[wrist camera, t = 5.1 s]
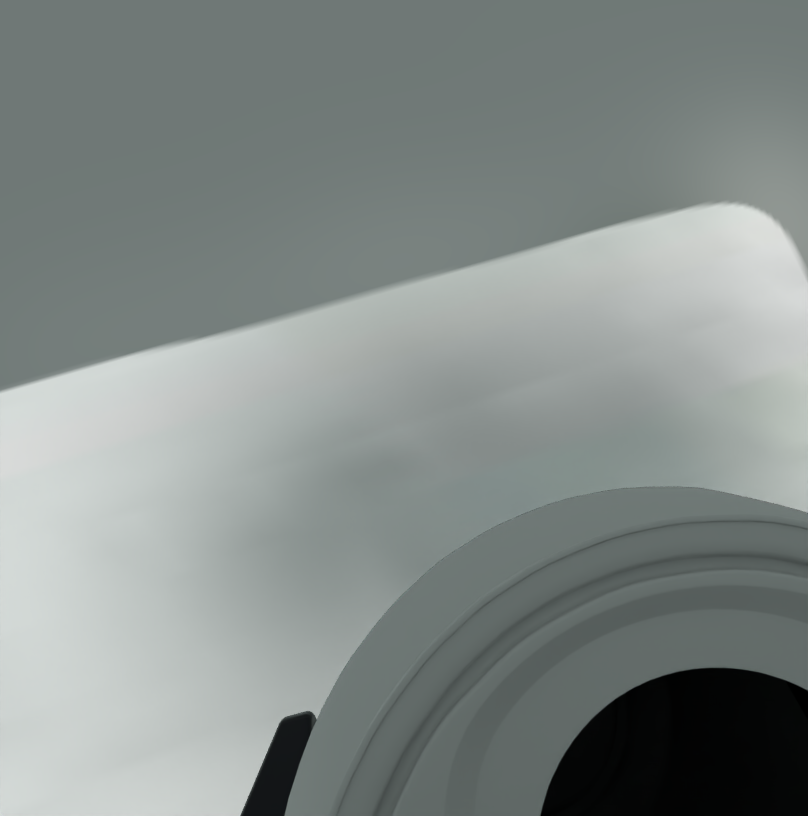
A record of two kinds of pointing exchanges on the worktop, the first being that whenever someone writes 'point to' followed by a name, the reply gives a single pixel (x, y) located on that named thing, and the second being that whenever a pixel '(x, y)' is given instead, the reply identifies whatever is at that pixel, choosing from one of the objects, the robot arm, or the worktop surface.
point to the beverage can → (583, 670)
